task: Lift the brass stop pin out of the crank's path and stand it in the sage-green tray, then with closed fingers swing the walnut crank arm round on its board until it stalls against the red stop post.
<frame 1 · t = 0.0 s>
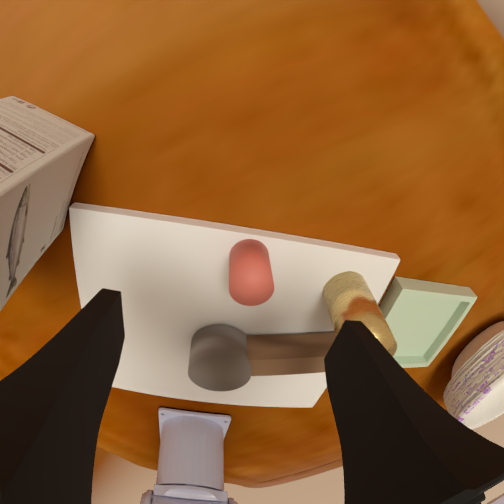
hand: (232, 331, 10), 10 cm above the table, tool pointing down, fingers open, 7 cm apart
crank: (281, 363, 22), point 3 cm above the table, hinge at -80.0°
supplement box: (37, 161, 16), on the table
stop post: (248, 249, 20), resting on board
stop pin: (344, 289, 21), point 1 cm above the table, touching board
tray: (412, 323, 25), on the table
board: (220, 334, 24), on the table
paper bowls: (482, 347, 30), on the table
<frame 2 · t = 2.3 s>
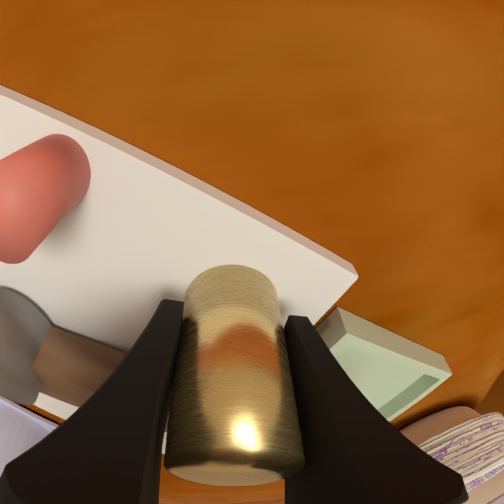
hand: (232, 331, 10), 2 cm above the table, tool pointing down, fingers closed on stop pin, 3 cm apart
crank: (90, 394, 10), point 3 cm above the table, hinge at -80.0°
stop post: (69, 163, 9), resting on board
stop pin: (231, 302, 11), point 1 cm above the table, touching board, gripper
tray: (341, 387, 16), on the table
board: (27, 309, 12), on the table
paper bowls: (421, 430, 23), on the table
when the fingers open (4 cm above the table, at t = 5.0 s): stop pin drops 2 cm, resting on tray.
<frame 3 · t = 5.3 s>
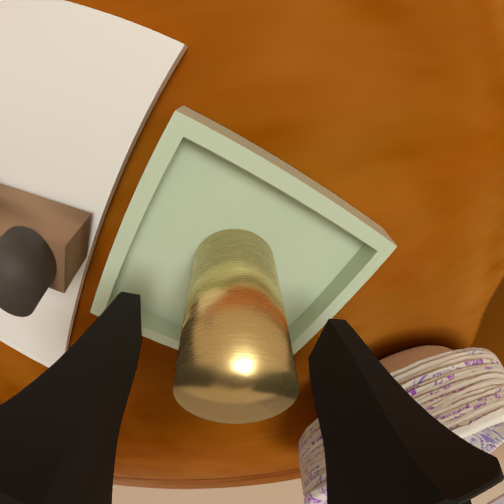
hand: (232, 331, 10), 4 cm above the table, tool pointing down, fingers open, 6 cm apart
stop pin: (234, 264, 12), point 1 cm above the table, touching tray
tray: (232, 261, 13), on the table
paper bowls: (391, 385, 20), on the table
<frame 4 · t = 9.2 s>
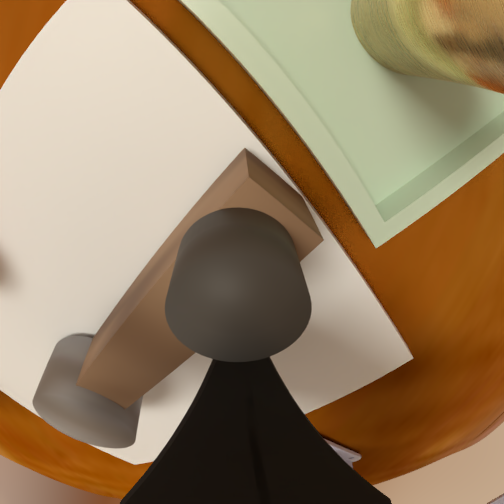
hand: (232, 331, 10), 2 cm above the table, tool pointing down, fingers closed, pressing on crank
crank: (129, 362, 9), point 3 cm above the table, hinge at -80.0°, touching gripper
stop pin: (403, 23, 6), point 1 cm above the table, touching tray
tray: (400, 30, 7), on the table
board: (104, 351, 13), on the table
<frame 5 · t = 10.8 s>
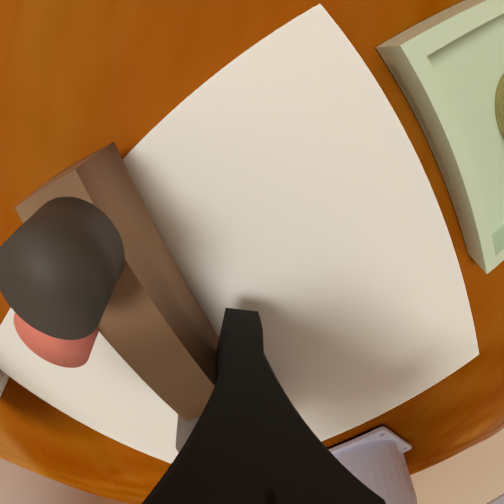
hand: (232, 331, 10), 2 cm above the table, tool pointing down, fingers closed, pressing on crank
crank: (178, 374, 9), point 3 cm above the table, hinge at -20.1°, touching gripper, stop post
stop post: (94, 256, 10), resting on board
board: (229, 373, 14), on the table
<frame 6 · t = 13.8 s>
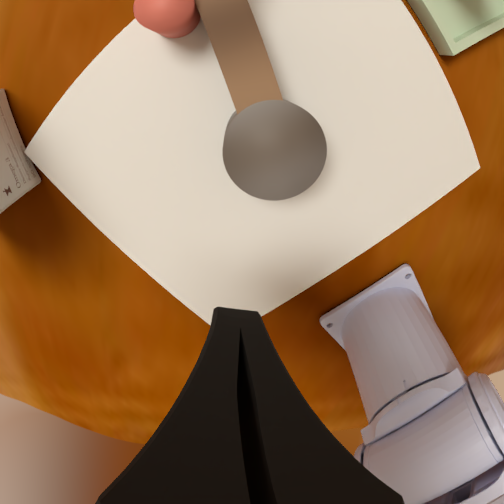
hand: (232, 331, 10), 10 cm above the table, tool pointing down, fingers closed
crank: (241, 55, 11), point 3 cm above the table, hinge at -20.1°, touching stop post
stop post: (179, 19, 12), resting on board
board: (266, 134, 16), on the table
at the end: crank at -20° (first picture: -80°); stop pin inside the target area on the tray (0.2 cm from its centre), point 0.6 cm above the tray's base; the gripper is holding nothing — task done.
